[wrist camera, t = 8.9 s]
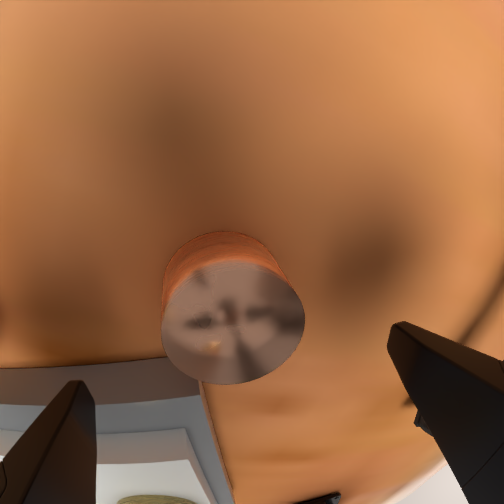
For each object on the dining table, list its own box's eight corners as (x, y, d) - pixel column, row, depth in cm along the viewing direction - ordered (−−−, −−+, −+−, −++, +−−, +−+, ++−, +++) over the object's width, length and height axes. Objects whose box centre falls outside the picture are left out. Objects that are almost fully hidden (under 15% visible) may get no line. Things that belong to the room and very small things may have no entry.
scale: (232, 489, 19) (242, 533, 16) (21, 489, 16) (15, 524, 13) (195, 353, 13) (205, 428, 10) (-87, 364, 10) (-111, 407, 6)
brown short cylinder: (279, 321, 14) (303, 369, 11) (175, 339, 13) (178, 393, 10) (276, 222, 12) (306, 257, 9) (152, 240, 11) (145, 282, 8)
